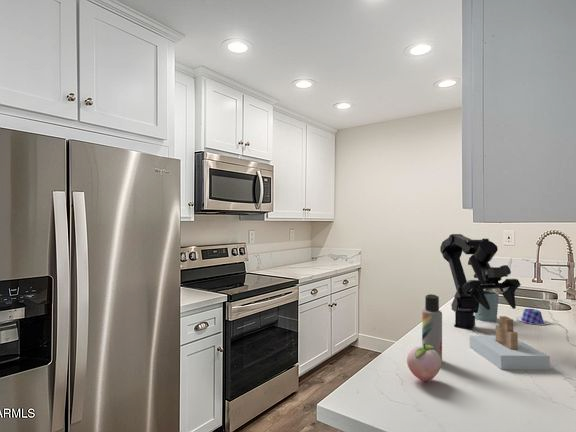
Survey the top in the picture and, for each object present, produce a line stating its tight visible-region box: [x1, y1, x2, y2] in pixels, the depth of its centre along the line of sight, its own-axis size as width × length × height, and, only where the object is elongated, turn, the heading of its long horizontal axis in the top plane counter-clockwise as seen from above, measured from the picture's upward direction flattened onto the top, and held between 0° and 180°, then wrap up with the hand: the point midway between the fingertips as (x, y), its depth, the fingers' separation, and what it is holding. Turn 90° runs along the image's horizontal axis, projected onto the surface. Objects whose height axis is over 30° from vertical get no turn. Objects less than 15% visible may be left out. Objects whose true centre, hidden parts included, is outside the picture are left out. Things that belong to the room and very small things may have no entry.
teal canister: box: [474, 289, 500, 323], centre depth 155 cm, size 10×10×12 cm
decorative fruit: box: [406, 344, 442, 383], centre depth 95 cm, size 9×8×10 cm
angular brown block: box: [495, 315, 519, 350], centre depth 111 cm, size 8×2×12 cm, turn 179°
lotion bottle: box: [421, 293, 443, 363], centre depth 109 cm, size 6×6×20 cm
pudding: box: [515, 308, 550, 326], centre depth 152 cm, size 12×12×5 cm
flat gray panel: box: [469, 334, 551, 371], centre depth 111 cm, size 18×14×4 cm
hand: (501, 309), depth 119 cm, fingers open, 9 cm apart
